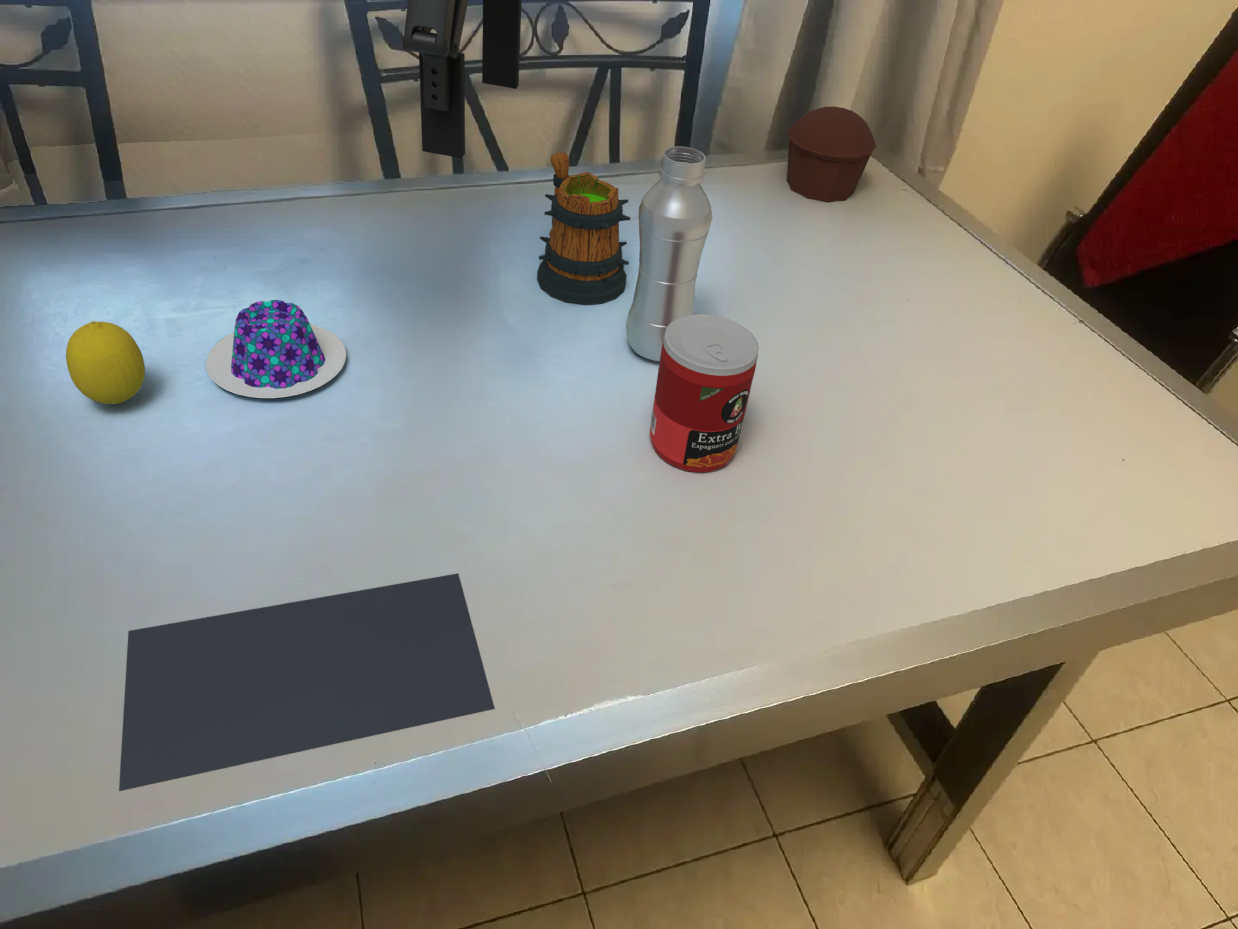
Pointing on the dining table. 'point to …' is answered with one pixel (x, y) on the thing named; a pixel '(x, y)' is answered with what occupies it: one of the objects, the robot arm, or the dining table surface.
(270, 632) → the dark gray placemat
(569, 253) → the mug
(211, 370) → the pudding
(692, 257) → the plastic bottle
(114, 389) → the lemon
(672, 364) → the canned food
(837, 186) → the muffin
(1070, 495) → the dining table surface
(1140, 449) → the dining table surface
